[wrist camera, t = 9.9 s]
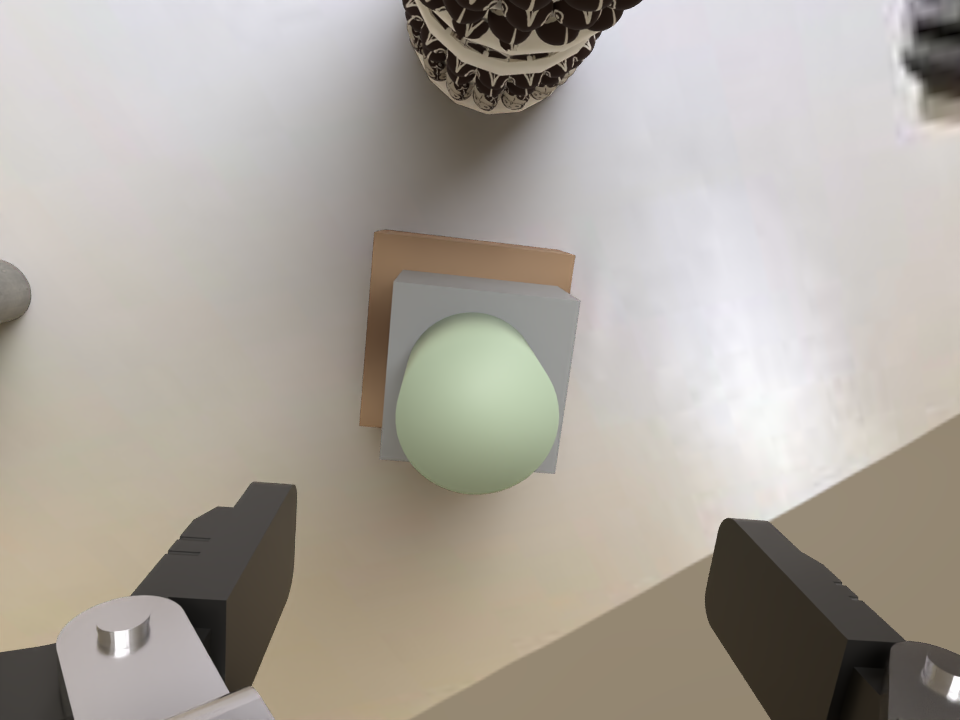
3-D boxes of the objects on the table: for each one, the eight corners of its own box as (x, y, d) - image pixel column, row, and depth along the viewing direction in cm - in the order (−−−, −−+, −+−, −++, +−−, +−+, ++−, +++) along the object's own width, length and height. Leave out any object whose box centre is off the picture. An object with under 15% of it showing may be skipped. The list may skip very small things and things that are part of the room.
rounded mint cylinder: (543, 318, 23) (569, 345, 18) (528, 443, 24) (548, 499, 20) (410, 306, 23) (401, 331, 18) (401, 433, 24) (389, 488, 19)
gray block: (537, 431, 30) (554, 473, 25) (390, 418, 29) (379, 459, 24) (557, 286, 28) (580, 300, 23) (402, 269, 28) (393, 281, 23)
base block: (533, 411, 35) (547, 442, 30) (371, 395, 34) (359, 425, 29) (556, 249, 33) (575, 255, 28) (385, 229, 32) (374, 232, 27)
